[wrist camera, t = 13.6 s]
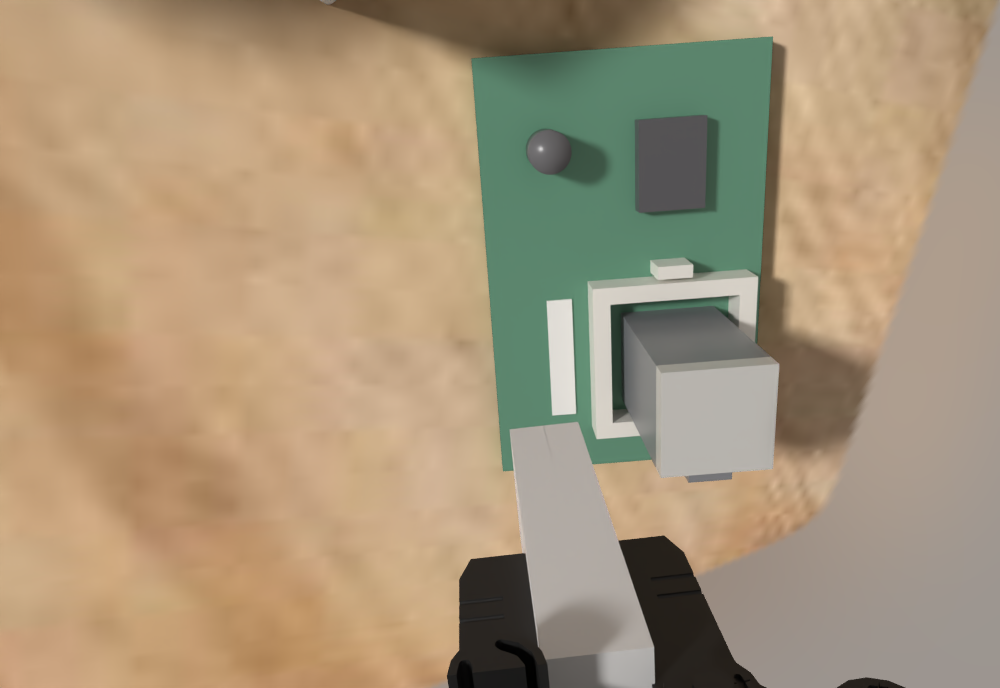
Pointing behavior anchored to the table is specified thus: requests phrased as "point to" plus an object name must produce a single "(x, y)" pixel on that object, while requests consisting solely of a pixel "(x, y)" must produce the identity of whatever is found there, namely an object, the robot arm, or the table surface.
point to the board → (614, 215)
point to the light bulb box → (328, 1)
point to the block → (698, 392)
